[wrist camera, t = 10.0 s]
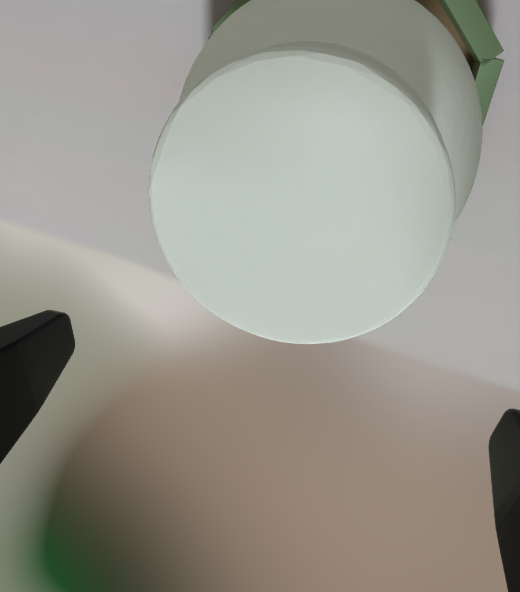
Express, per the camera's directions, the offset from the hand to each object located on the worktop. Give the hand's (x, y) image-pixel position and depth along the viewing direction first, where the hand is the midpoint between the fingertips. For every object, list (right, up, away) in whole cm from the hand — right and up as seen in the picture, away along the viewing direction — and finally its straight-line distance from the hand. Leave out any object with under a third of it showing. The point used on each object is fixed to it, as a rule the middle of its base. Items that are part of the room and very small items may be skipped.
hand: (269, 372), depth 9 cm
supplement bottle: (+3, +9, +9) cm, 13 cm away
